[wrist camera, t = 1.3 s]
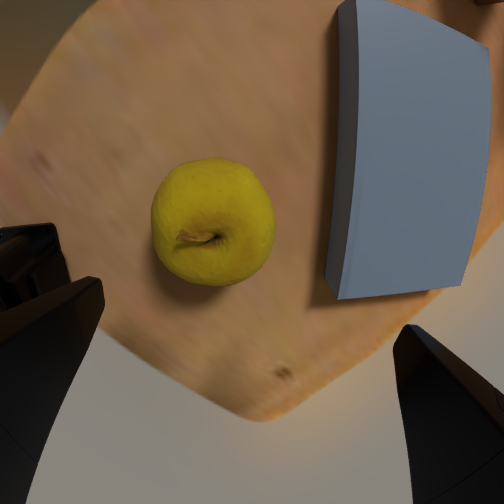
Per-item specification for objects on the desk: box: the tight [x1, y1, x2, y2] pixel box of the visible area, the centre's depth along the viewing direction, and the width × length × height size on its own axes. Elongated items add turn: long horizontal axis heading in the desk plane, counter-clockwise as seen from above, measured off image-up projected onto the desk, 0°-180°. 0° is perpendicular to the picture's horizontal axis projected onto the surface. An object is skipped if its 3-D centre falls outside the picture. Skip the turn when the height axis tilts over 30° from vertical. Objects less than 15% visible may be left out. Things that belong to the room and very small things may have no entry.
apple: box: [151, 158, 276, 287], centre depth 15 cm, size 6×6×8 cm
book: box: [324, 0, 491, 300], centre depth 17 cm, size 12×20×3 cm, turn 179°
